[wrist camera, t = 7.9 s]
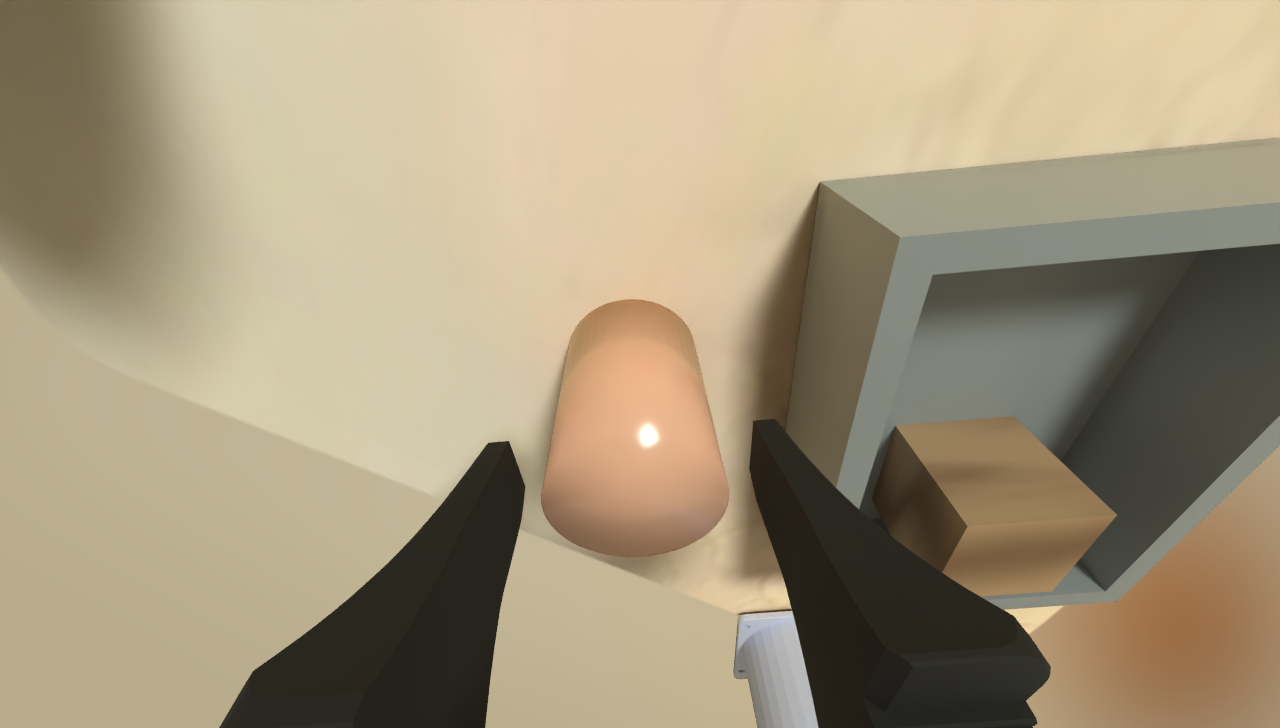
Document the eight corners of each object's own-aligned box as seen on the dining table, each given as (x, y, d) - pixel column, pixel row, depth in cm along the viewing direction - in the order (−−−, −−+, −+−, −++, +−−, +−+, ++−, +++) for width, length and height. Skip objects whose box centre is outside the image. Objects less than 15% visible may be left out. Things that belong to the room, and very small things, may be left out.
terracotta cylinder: (696, 399, 19) (726, 549, 13) (579, 409, 19) (560, 562, 14) (694, 293, 16) (732, 428, 11) (557, 306, 16) (521, 445, 11)
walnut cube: (973, 491, 22) (1051, 591, 18) (871, 499, 22) (926, 600, 18) (1013, 416, 19) (1117, 514, 15) (895, 425, 19) (967, 526, 15)
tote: (1033, 507, 24) (1116, 601, 20) (771, 527, 24) (801, 623, 20) (1281, 137, 14) (1560, 176, 10) (820, 181, 14) (900, 237, 10)
